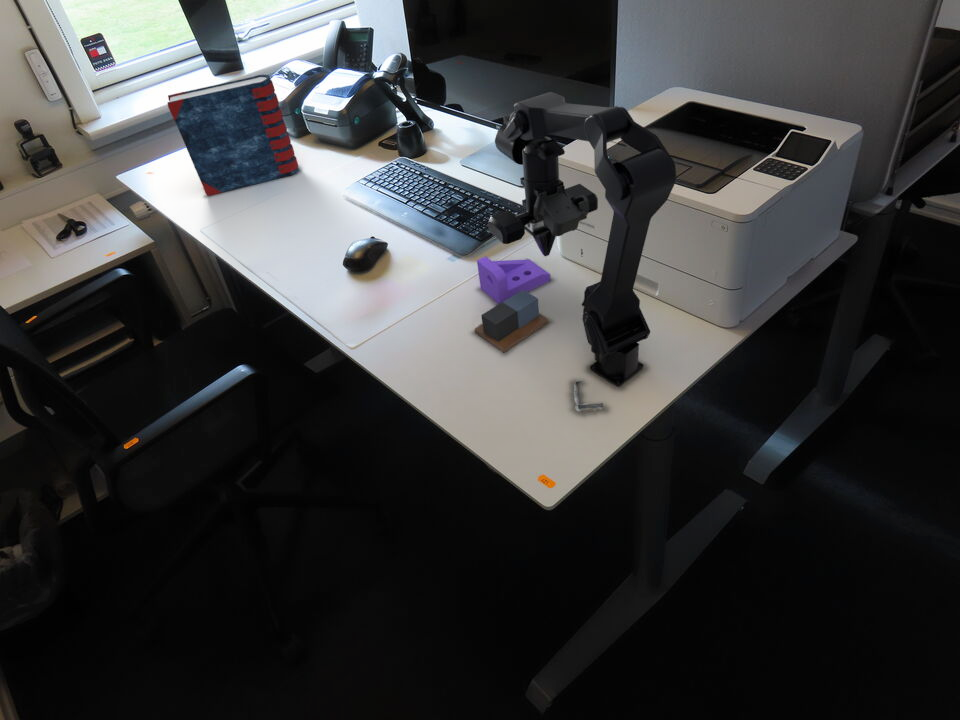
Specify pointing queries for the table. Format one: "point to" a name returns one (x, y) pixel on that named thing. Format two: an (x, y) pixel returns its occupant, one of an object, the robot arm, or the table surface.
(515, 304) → the blue-grey block
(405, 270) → the table surface
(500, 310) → the dark grey cube
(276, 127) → the book
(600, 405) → the bent metal strip
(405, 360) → the table surface
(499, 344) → the brown wooden board
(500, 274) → the bracket
